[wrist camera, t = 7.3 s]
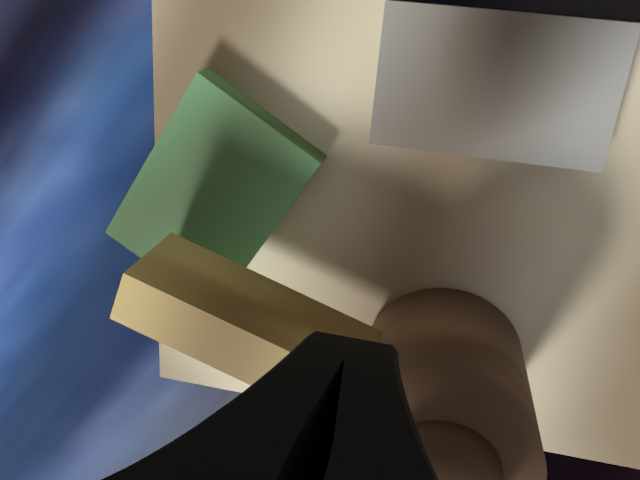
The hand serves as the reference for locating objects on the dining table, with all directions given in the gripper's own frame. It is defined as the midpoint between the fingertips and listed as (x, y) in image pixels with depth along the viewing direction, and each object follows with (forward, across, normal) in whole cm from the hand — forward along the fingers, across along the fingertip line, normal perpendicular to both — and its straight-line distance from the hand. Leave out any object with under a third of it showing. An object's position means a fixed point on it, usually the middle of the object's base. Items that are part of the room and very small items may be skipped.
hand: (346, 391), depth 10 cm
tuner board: (+8, -1, 0) cm, 8 cm away
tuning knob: (+6, +1, +2) cm, 6 cm away
